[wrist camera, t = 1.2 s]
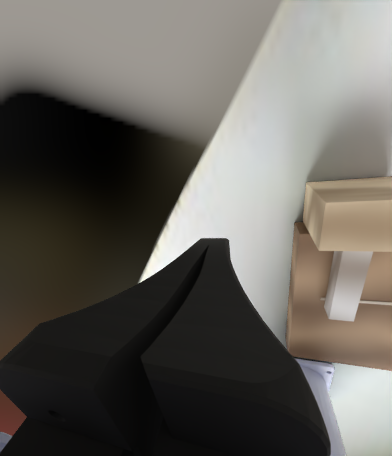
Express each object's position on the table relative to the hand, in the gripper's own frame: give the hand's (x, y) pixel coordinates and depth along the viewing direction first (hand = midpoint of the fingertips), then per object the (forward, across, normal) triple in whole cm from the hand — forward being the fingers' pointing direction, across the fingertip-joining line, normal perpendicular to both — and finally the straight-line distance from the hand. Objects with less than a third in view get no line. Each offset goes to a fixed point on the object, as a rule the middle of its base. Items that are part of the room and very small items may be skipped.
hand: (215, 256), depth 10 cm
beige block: (+8, -8, +4) cm, 12 cm away
